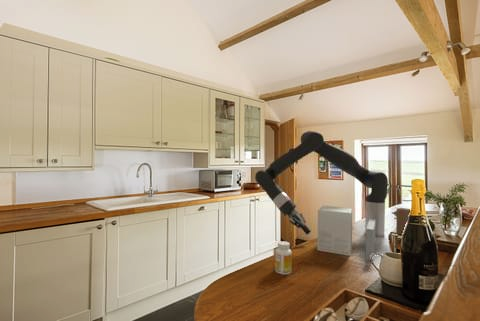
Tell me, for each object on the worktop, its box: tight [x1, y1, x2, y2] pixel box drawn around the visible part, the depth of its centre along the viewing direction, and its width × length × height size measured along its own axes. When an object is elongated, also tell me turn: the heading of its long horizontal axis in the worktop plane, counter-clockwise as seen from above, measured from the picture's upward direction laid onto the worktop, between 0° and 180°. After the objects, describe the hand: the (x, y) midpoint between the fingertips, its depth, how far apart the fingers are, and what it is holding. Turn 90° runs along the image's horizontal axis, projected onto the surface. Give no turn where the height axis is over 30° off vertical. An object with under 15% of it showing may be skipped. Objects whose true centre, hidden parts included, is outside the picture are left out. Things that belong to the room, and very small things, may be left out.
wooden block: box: [395, 207, 411, 235], centre depth 110 cm, size 9×4×18 cm, turn 40°
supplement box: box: [316, 205, 353, 257], centre depth 111 cm, size 13×13×18 cm
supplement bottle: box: [274, 240, 293, 276], centre depth 87 cm, size 5×5×10 cm
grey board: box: [365, 218, 376, 261], centre depth 108 cm, size 22×2×12 cm, turn 150°
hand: (309, 233), depth 117 cm, fingers closed
